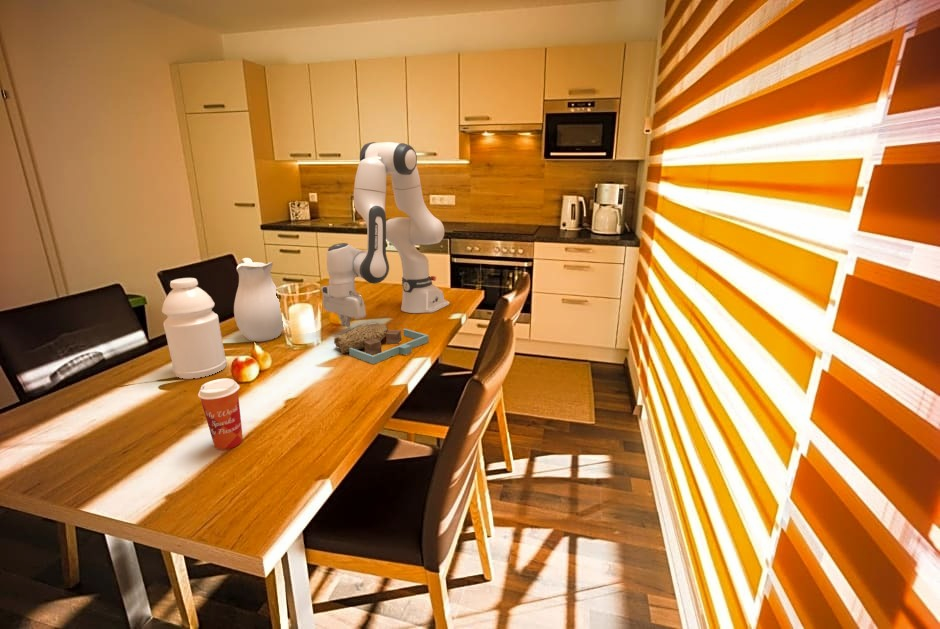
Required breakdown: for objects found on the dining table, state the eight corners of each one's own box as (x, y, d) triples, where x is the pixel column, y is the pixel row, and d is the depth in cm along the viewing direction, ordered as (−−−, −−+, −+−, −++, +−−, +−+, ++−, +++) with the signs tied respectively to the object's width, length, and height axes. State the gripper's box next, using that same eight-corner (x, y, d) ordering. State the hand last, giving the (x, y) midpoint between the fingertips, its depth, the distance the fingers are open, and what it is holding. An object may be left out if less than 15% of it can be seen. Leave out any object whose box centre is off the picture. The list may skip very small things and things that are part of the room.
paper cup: (207, 456, 96) (194, 396, 92) (210, 438, 103) (199, 381, 99) (248, 447, 99) (237, 388, 95) (249, 430, 106) (239, 374, 102)
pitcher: (294, 338, 165) (283, 261, 157) (242, 348, 156) (229, 267, 148) (278, 321, 184) (268, 252, 176) (232, 329, 175) (219, 257, 167)
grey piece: (405, 335, 167) (404, 328, 166) (434, 343, 158) (433, 336, 157) (349, 355, 149) (348, 348, 148) (379, 366, 140) (378, 358, 139)
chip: (375, 349, 154) (374, 338, 153) (381, 353, 151) (380, 341, 150) (365, 352, 151) (364, 341, 150) (370, 356, 148) (369, 344, 147)
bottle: (164, 374, 136) (143, 283, 128) (207, 358, 148) (190, 273, 140) (195, 383, 130) (175, 287, 122) (237, 365, 142) (221, 277, 134)
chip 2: (390, 340, 162) (389, 329, 161) (401, 341, 161) (400, 330, 160) (386, 344, 158) (385, 333, 157) (397, 345, 158) (397, 334, 156)
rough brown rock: (347, 361, 148) (400, 336, 158) (338, 339, 146) (393, 315, 156) (335, 355, 159) (385, 332, 169) (327, 334, 157) (378, 313, 167)
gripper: (368, 291, 160) (371, 329, 164) (332, 284, 172) (336, 319, 176) (354, 295, 155) (357, 334, 159) (318, 287, 167) (322, 323, 171)
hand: (346, 326), depth 168 cm, fingers closed
